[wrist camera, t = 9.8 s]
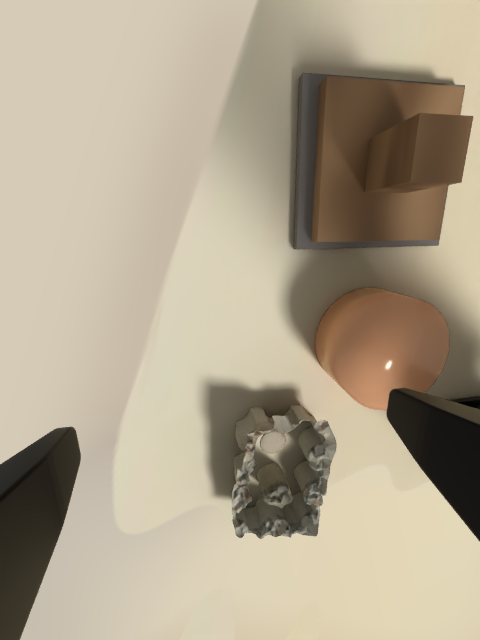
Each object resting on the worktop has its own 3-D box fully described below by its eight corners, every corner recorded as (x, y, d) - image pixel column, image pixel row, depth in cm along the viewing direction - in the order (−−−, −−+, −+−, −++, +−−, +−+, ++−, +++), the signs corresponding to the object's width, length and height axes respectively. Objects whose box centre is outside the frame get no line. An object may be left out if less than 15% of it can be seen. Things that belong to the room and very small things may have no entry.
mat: (456, 89, 20) (465, 85, 19) (432, 245, 22) (438, 245, 22) (299, 78, 18) (302, 72, 17) (293, 248, 20) (296, 249, 20)
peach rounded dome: (414, 285, 23) (459, 295, 19) (400, 377, 25) (438, 403, 21) (318, 290, 22) (346, 301, 18) (312, 387, 24) (336, 416, 20)
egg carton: (235, 400, 23) (245, 433, 19) (322, 401, 25) (348, 431, 21) (222, 508, 26) (229, 556, 22) (302, 503, 28) (321, 546, 24)
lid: (450, 94, 19) (539, 47, 14) (427, 239, 21) (496, 240, 17) (319, 84, 17) (369, 28, 13) (311, 241, 20) (350, 243, 15)
